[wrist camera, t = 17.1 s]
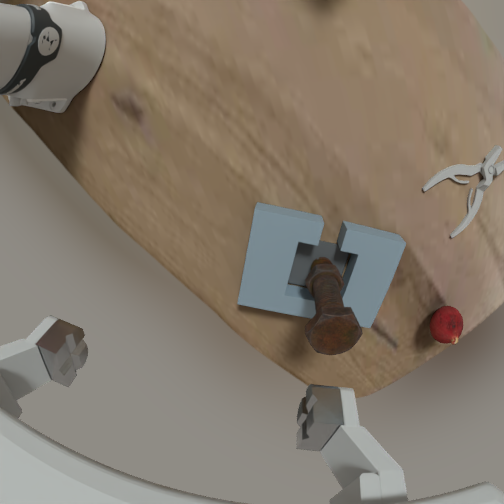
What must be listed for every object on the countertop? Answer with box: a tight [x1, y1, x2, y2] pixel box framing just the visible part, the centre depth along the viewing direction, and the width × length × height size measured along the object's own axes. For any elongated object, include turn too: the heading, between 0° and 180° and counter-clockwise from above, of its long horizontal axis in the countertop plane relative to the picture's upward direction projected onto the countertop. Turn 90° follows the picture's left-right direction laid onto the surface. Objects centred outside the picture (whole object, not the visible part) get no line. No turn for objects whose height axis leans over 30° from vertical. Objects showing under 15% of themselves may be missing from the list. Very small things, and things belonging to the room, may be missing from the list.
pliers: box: [422, 145, 504, 238], centre depth 33 cm, size 10×2×15 cm
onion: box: [430, 306, 463, 344], centre depth 39 cm, size 6×6×8 cm
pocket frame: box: [238, 202, 406, 328], centre depth 40 cm, size 20×14×3 cm
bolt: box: [305, 257, 362, 355], centre depth 35 cm, size 6×5×15 cm
